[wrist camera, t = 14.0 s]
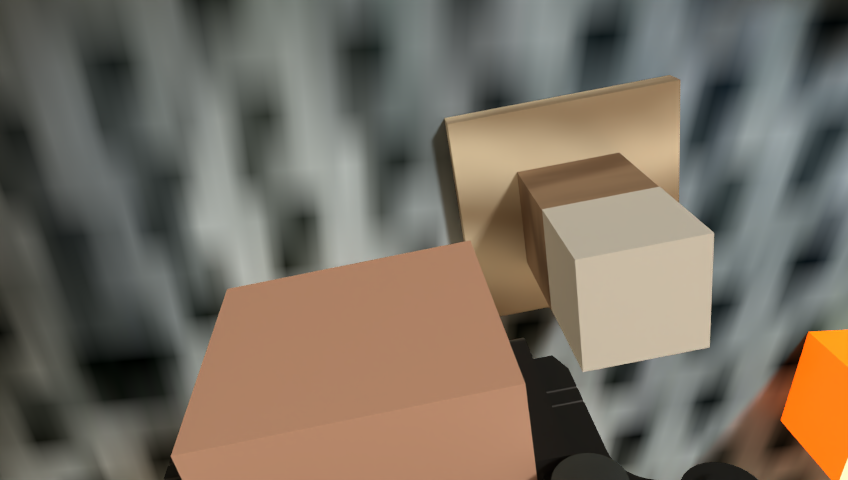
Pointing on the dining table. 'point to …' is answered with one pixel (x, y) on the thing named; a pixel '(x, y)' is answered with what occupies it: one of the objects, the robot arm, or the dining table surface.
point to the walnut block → (569, 197)
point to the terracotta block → (361, 378)
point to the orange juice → (822, 401)
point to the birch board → (545, 146)
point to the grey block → (629, 277)
